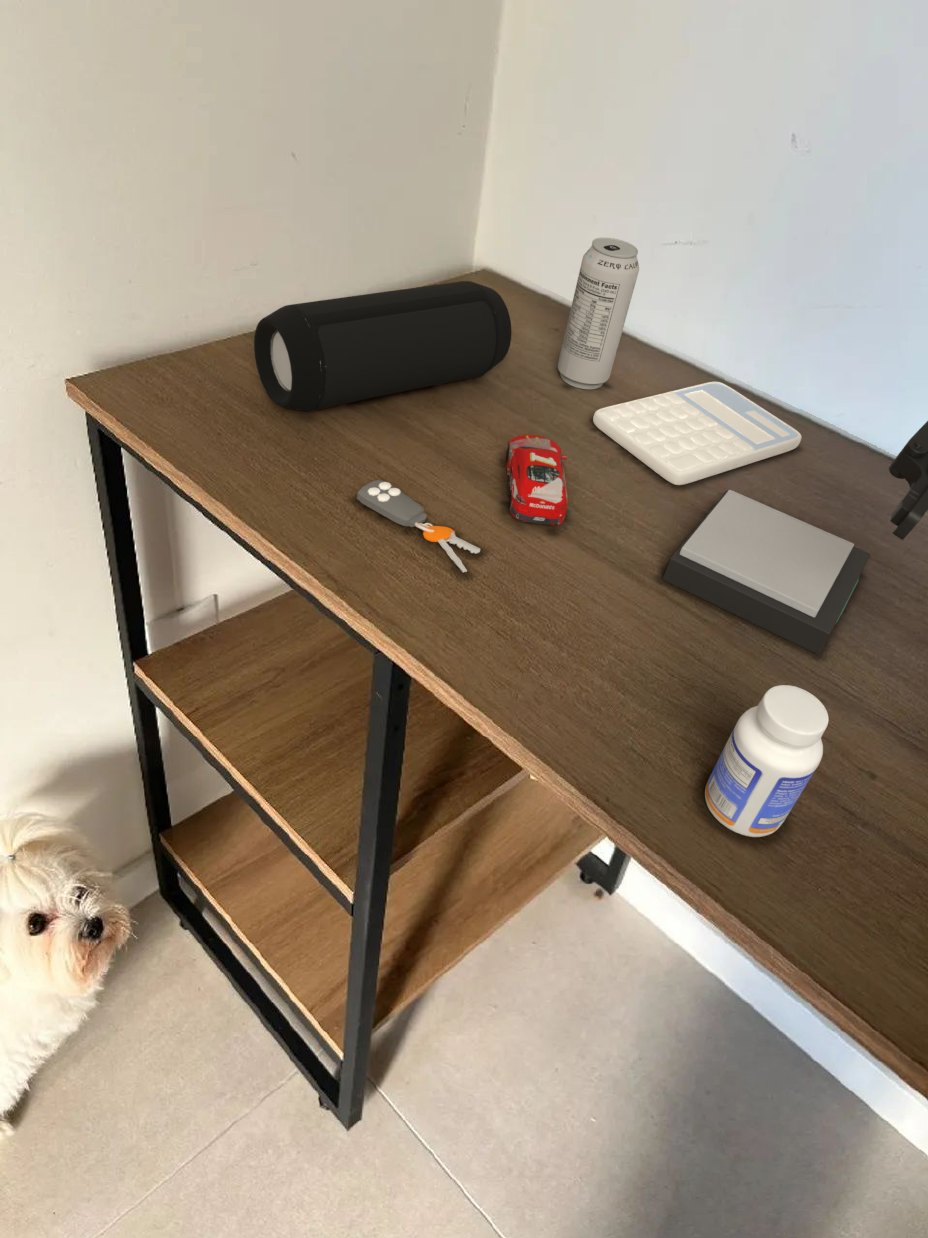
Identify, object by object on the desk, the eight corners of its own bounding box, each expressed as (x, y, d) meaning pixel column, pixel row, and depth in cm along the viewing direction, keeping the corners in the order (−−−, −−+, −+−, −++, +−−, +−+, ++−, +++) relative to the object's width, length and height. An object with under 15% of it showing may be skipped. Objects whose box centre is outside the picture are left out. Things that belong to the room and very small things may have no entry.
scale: (860, 574, 85) (876, 546, 83) (819, 656, 75) (835, 627, 73) (717, 510, 89) (729, 482, 87) (661, 579, 80) (672, 550, 78)
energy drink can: (618, 385, 106) (655, 253, 96) (582, 396, 102) (616, 261, 93) (581, 361, 109) (613, 232, 99) (544, 371, 106) (574, 238, 96)
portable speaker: (455, 349, 106) (468, 262, 100) (507, 390, 101) (525, 301, 94) (249, 387, 93) (249, 290, 87) (296, 436, 88) (300, 336, 81)
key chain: (351, 502, 81) (352, 488, 80) (380, 487, 84) (382, 473, 83) (463, 575, 76) (466, 561, 75) (491, 557, 78) (494, 543, 77)
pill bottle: (785, 790, 64) (843, 693, 57) (778, 852, 60) (841, 754, 53) (707, 763, 65) (757, 664, 58) (696, 821, 61) (748, 722, 54)
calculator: (586, 422, 98) (591, 406, 97) (714, 390, 108) (719, 376, 107) (674, 489, 91) (680, 473, 90) (802, 448, 101) (809, 433, 100)
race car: (504, 448, 92) (511, 412, 89) (557, 456, 92) (566, 421, 90) (504, 526, 82) (512, 488, 79) (564, 535, 82) (575, 497, 80)
